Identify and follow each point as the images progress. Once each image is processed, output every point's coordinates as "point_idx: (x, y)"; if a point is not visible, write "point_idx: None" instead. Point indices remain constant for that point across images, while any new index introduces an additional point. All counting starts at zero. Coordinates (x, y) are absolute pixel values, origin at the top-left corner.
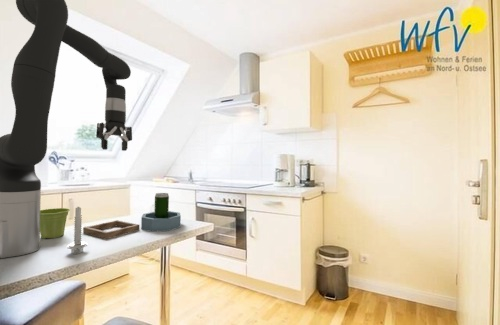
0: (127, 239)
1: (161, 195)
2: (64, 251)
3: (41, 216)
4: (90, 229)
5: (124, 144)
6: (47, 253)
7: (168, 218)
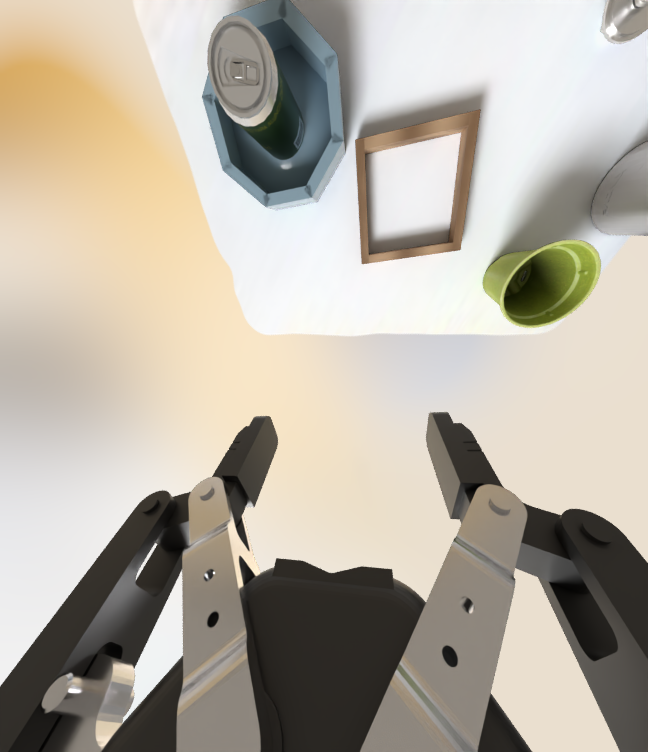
0: (446, 41)
1: (256, 32)
2: (616, 71)
3: (588, 266)
4: (465, 211)
5: (251, 459)
6: (643, 95)
7: (286, 1)
